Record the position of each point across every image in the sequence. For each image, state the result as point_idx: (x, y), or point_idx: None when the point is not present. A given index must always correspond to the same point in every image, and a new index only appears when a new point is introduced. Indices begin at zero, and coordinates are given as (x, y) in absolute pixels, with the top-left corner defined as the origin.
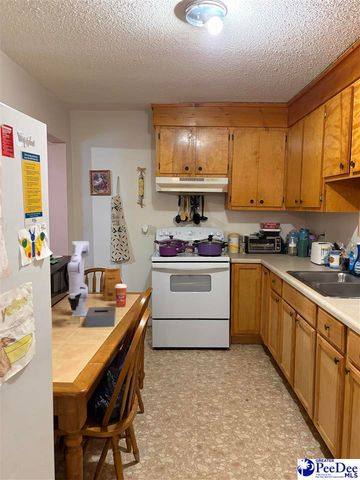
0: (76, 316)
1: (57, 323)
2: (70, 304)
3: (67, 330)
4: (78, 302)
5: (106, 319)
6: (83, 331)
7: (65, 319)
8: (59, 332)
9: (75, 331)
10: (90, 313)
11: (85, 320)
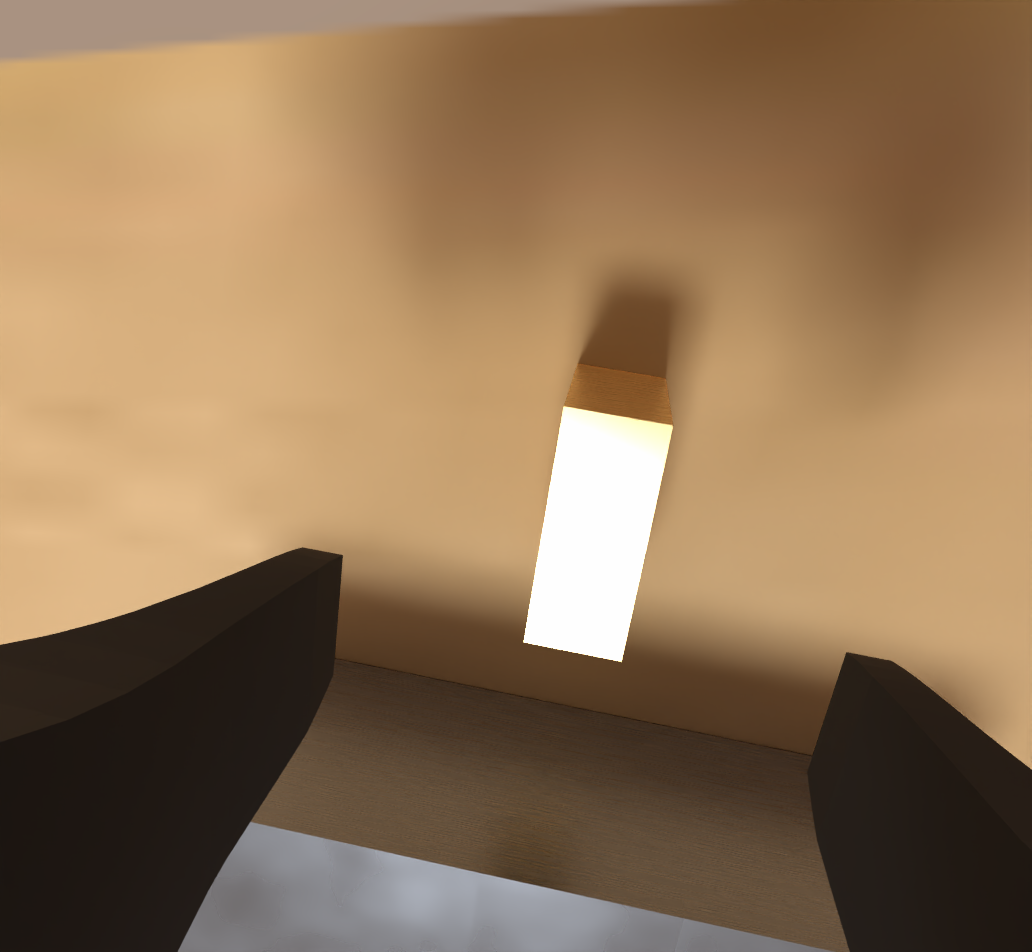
0: (560, 573)
1: (714, 30)
2: (101, 631)
3: (144, 306)
4: (843, 928)
5: None
6: (67, 595)
7: (1013, 241)
8: (33, 134)
9: (75, 460)
10: (385, 931)
11: None
